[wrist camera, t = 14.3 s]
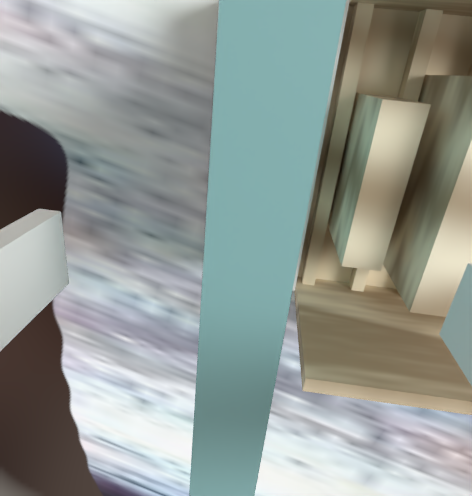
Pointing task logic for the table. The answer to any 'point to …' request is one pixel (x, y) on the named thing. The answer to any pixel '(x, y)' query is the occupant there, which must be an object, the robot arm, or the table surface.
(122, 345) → the table surface
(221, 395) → the teal rectangular panel
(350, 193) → the offcut short
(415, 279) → the offcut tall
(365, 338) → the rack
